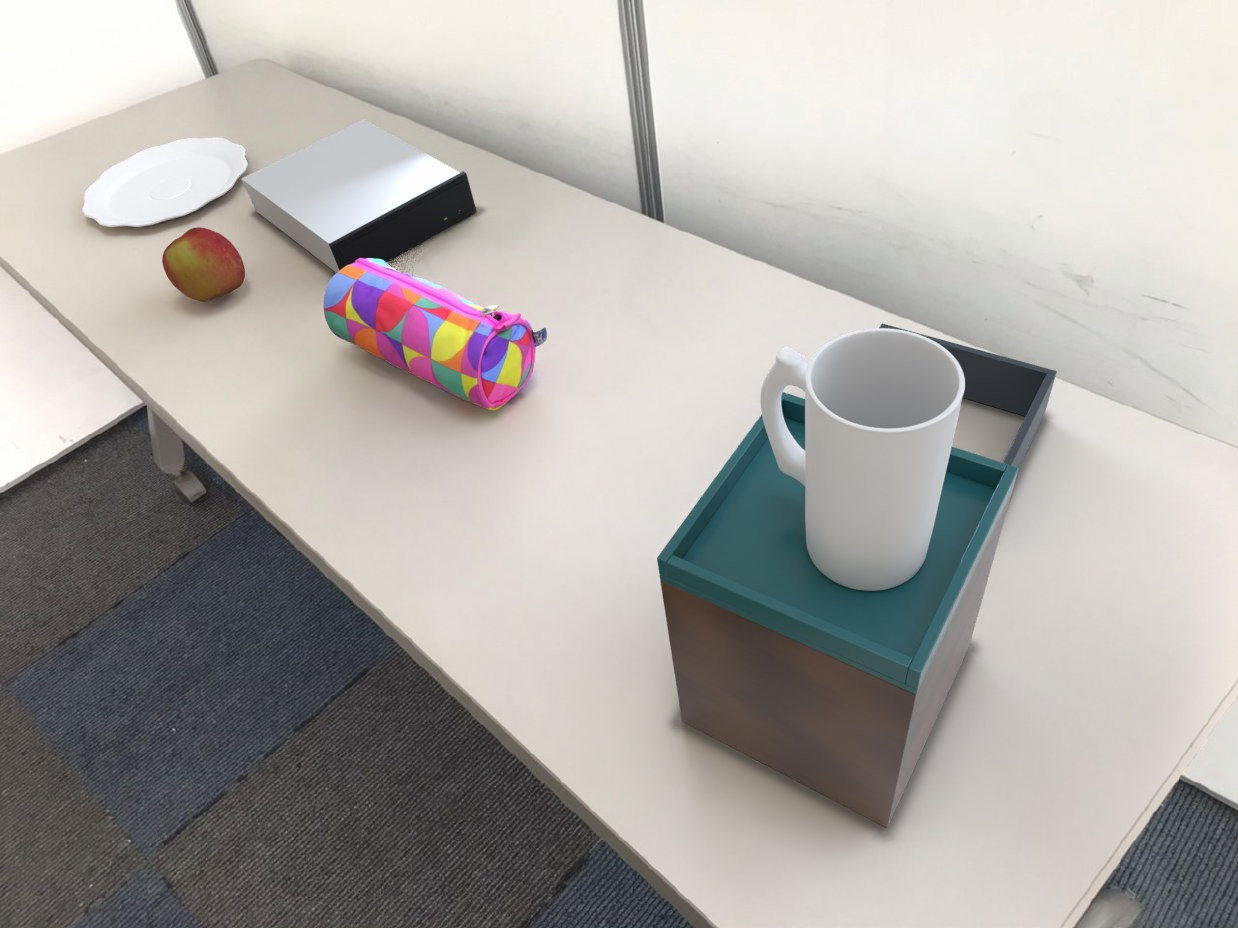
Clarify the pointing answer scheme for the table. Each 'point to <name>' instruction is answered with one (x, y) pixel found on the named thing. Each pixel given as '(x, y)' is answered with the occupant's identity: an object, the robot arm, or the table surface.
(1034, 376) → the dark gray square frame
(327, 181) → the disc drive
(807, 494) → the mug
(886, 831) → the table surface
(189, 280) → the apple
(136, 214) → the plate
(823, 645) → the tray
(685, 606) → the riser
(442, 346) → the pencil case
